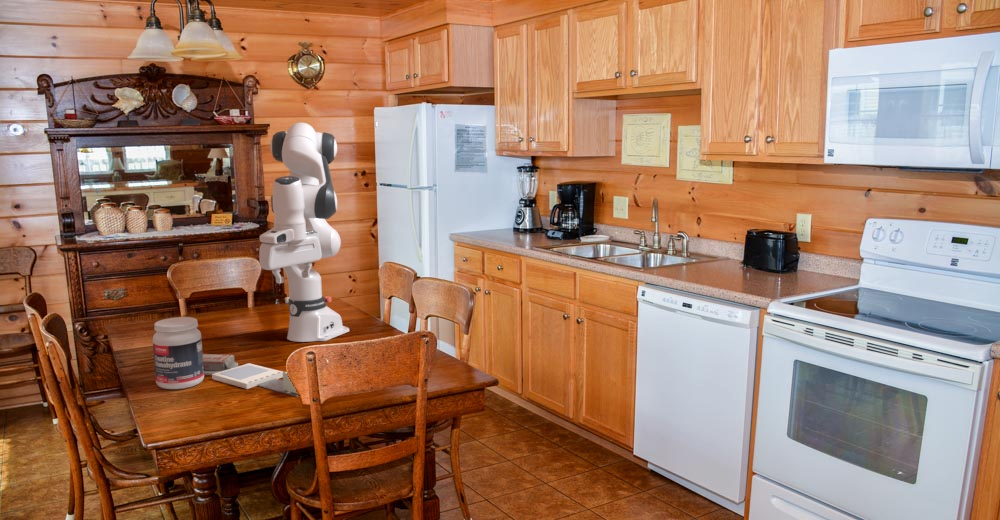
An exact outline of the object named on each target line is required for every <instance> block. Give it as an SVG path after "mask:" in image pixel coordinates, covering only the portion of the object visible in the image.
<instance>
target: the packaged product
mask: <svg viewBox="0 0 1000 520" xmlns="http://www.w3.org/2000/svg"><path fill="white" fill-rule="evenodd" d="M202 354H203V368H204V376H206V375H207V376H208V375H209V376H212V374H214V373H218V372H221V371H225V370H228V369H231V368H235V367H238V366H239V363H238V362H237V361H236V362H235V355H234V354H216V353H213V354H211V353H210V354H209V353H202Z"/></svg>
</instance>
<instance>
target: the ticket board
mask: <svg viewBox="0 0 1000 520" xmlns="http://www.w3.org/2000/svg"><path fill="white" fill-rule="evenodd" d="M283 372H284V371H282V370H278V369H274V368H271V367H265V366H263V365H262V366H261V365H258V364H253V363H250V362H249V363H245V364H242V365H238V366H237V367H235V368H231V369H228V370H225V371H221V372H218V373H214V374H212V375H211V376H212V377H211V380H213V381H218V382H222V383H224V384H228V385H232V386H235V387H238V388H239V387H240V388H243V389H246V390H248V389H251V388H254V387H260V388H264V389H267V390H270V391H274V392H277V393H282V394H285V395H289V396H293V397H295V398H296V397H297V398H298V397H299V396H298V394H297V393H293V392H290V391H286V390H284V388H283ZM281 378H282V379H281Z"/></svg>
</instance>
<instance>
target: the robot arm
mask: <svg viewBox="0 0 1000 520" xmlns="http://www.w3.org/2000/svg"><path fill="white" fill-rule="evenodd" d="M269 148H270V152H271V154H272V158H274V160H275V161H277V162H281V163H283V164H284V166H285V167H286V168H287V169H288V171H290V173H289V175H287V176H281V177H277V178H276V179H274V180H273V184H272V186H273V187H272V194H271V197H270V202H271V212H272V213H273V215H274V220H273V227H272V228H271V229H268V230H267V231H266V232H263V233H262V234H260V235H259V242H261V244H260V246H259V251H258V252H259V253H258V254H259V255H258V257H259V259H258V260H259V267H260V268H262V269H261V270H266V271H271V272H272V275H273V276H274V277H275V283H276V284H283V283H285V280H284V279H285V277H284V276H282V275H281V273H280V272H281V269H283V270H284V272H285V275H286V279H287V285H288V292H289V294H288V297H289V298H288V310H289V320H288V321H289V323H288V324H289V325H288V331H287V336H286V339H287V340H289V341H291V342H298V343H300V342H301V343H305V342H307V343H308V342H326V341H329V340H331V339H334V338H337V337H338V336H341V335H344V334H346V333H349V332H350V327H348V326H345V325H343V320H342V317H341V315H340V314H339V313H338V312H336V311H335V310H333V309H331V308H330V307H328V305H327V303H331V302H332V301H333V300H332V297H331V296H325V297H324V296H323V290H322V289H323V288H322V277H321V275H320V273H319V272H318V271H317V270H316V269H313V268H312V267H313V262H318V261H320V260H321V259H325V258H331V257H335V256H336V255H338V253H339V251H340V250H341V246H342V240H341V237H340V233H338V231H337V229H335V228H334V227H332V226H331V225H330V224H329V222H327V221H326V220H329V219H331V218H332V217H333V216H334V215H335V214H336V213H337V211H338V197H337V194H336V191H335V189H334V185H333V180H332V176H331V175H332V174H331V170H330V168H329V167H330V166H329V165H330V164H331V163H332V162H334V161H335V158H336V156H337V153H338V144H337V141H336V137H335V136H334V135H333V134H332V133H329V132H325V131H323V132H319V131H316V130H315V129H314V128H313V126H312V125H310V124H309V123H306V122H296V123H294V124H292V125H291V126H290V127H289V128H288V130H287V131H286V130H281V131H276V132H275V133H274V134H273V135H272V138H271V140H270V146H269Z"/></svg>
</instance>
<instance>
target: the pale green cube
mask: <svg viewBox="0 0 1000 520" xmlns="http://www.w3.org/2000/svg"><path fill="white" fill-rule="evenodd" d="M282 372H283V377H282V380H283V388H284V390H286V391H290V392H293V393H297V392H296V389H295V387H294V386H293V384H292V382H291V381H290V379H289V377H288V375H287V372H286V371H282ZM297 394H298V393H297Z"/></svg>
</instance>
